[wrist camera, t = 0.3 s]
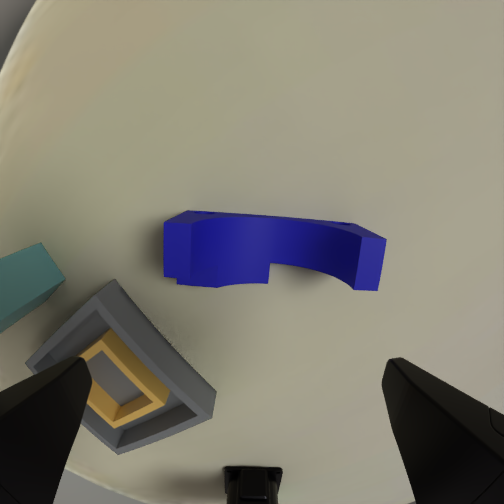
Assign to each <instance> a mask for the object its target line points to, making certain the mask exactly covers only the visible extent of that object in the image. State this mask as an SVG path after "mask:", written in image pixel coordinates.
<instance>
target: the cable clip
mask: <svg viewBox="0 0 504 504" xmlns="http://www.w3.org/2000/svg"><path fill="white" fill-rule="evenodd" d="M386 240H387V239H385V238H383V237H381V236H379V235H377V234H375V233H373V232H371V231H369V230H367V229H365V228H363V227H361V226H359V225H357V224H354V223H345V222H335V221H325V220H314V219H302V218H291V217H279V216H266V215H252V214H238V213H223V212H207V211H189V210H187V211H185V212H183V213H181V214H179V215H177V216H175V217H173V218H171V219H169V220H167V221H165V222H164V277H171V278H177V284H179V285H190V286H202V287H214V288H218V287H222V286H227V285H234V284H246V283H264V284H268V279H269V268H270V263H278V264H287V265H293V266H299V267H304V268H308V269H312V270H316V271H319V272H323V273H326V274H328V275H331V276H333V277H336V278H338V279H340V280H342V281H343V282H345V283H346V284H348V285H349V286H350V287H351V288H352V289H353V290H368V291H378V286H379V281H380V276H381V270H382V265H383V259H384V253H385V246H386Z"/></svg>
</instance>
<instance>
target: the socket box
mask: <svg viewBox="0 0 504 504" xmlns="http://www.w3.org/2000/svg"><path fill="white" fill-rule="evenodd" d="M71 356H78V357H82V358H84V359H85V361H86V363H87V366H88V369H89V371H90V374H91V377H92V387H91V390H90V393H89V397H88V400H87V404H86V407H85V411H84V414H83V418H82V421H81V424H82V425H83V426H84V427H85V428H87V429H88V430H89V431H90V432H91V433H92V434H93V435H94V436H96V437H97V438H98V439H99V440H100V441H101V442H103V443H104V444H105V445H106V446H108V447H109V448H110V449H111V450H112V451H114V452H115V453H116V454H117V455H119V454H122V453H125V452H128V451H131V450H134V449H137V448H140V447H143V446H145V445H148V444H151V443H153V442H156V441H159V440H161V439H164V438H166V437H169V436H171V435H174V434H176V433H179V432H181V431H183V430H186V429H188V428H191V427H193V426H195V425H197V424H200V423H202V422H204V421H206V420H209V419H211V418H212V415H213V410H214V404H215V398H216V392H217V391H216V390H215V389H213V388H212V387H211V386H210V385H209V384H208V383H207V382H206V381H205V380H204V379H203V378H202V377H201V376H200V375H199V374H198V373H197V372H196V371H195V370H194V369H193V368H192V367H191V366H190V365H189V364H188V363H187V361H186V360H185V359H184V358H183V357H182V356H181V355H180V354H179V353H178V352H177V351H176V350H175V349H174V348H173V347H172V346H171V344H170V343H169V342H168V341H167V340H166V339H165V338H164V337H163V336H162V335H161V333H160V332H159V331H158V330H157V329H156V328H155V327H154V326H153V324H152V323H151V322H150V321H149V320H148V319H147V318H146V316H145V315H144V314H143V313H142V312H141V310H140V309H139V308H138V307H137V306H136V304H135V303H134V302H133V301H132V300H131V298H130V297H129V296H128V295H127V294H126V292H125V291H124V290H123V289H122V287H121V286H120V285H119V283H118V282H117V281H116V280H115V279H114V280H113V281H111V282H110V283H109V284H108V285H106V286H105V287H104V288H103V289H101V290H100V291H99V292H98V293H96V294H95V295H94V296H93V297H92V298H91V299H90V300H89V301H87V302H86V303H85V304H84V305H83V306H82V307H81V308H80V309H79V310H78V311H77V312H76V313H75V314H74V315H73V316H71V317H70V318H69V319H68V320H67V321H66V322H65V323H64V324H63V325H62V326H61V327H60V328H59V329H58V330H57V331H56V332H55V333H54V334H53V335H52V336H51V337H50V338H49V339H48V340H47V341H46V342H45V343H44V344H43V345H42V346H41V347H40V348H39V349H38V350H37V351H36V352H35V353H34V354H33V355H32V356H31V357H30V358H29V359H28V360H27V361H26V362H25V364H26V365H27V367H28V368H29V369H30V370H31V371H32V373H33V374H34V375H35V374H37V373H39V372H41V371H43V370H45V369H47V368H49V367H51V366H53V365H55V364H57V363H59V362H61V361H63V360H65V359H67V358H69V357H71Z"/></svg>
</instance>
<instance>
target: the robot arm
mask: <svg viewBox="0 0 504 504" xmlns="http://www.w3.org/2000/svg"><path fill="white" fill-rule="evenodd" d="M91 387H92V377H91V374H90V371H89V369H88V366H87V363H86V361H85V359H84V358H82V357H78V356H71V357H69V358H67V359H65V360H63V361H61V362H59V363H57V364H55V365H53V366H51V367H49V368H47V369H45V370H43V371H41V372H39V373H37V374H35V375H33V376H31V377H29V378H27V379H25V380H23V381H21V382H19V383H17V384H15V385H13V386H11V387H9V388H7V389H5V390H3V391H1V392H0V504H53V501H54V498H55V495H56V492H57V489H58V486H59V482H60V479H61V476H62V473H63V471H64V468H65V465H66V462H67V459H68V456H69V454H70V451H71V448H72V445H73V443H74V440H75V437H76V435H77V432H78V430H79V427H80V424H81V421H82V418H83V414H84V411H85V407H86V404H87V400H88V397H89V393H90V390H91ZM382 390H383V394H384V398H385V402H386V406H387V410H388V414H389V419H390V423H391V427H392V430H393V434H394V436H395V439H396V442H397V445H398V448H399V451H400V454H401V457H402V460H403V463H404V466H405V469H406V472H407V475H408V478H409V481H410V484H411V487H412V491H413V494H414V497H415V501H416V504H504V415H503V414H501V413H499V412H498V411H496V410H494V409H492V408H489V407H488V406H487V405H485V404H483V403H481V402H479V401H478V400H476V399H474V398H472V397H471V396H469V395H467V394H465V393H463V392H462V391H460V390H458V389H456V388H455V387H453V386H451V385H449V384H447V383H446V382H444V381H442V380H440V379H439V378H437V377H435V376H433V375H432V374H430V373H428V372H426V371H425V370H423V369H421V368H419V367H418V366H416V365H414V364H412V363H411V362H409V361H407V360H405V359H404V358H401V357H399V358H392V359H389V360H388V362H387V364H386V368H385V371H384V375H383V378H382ZM224 472H225V493H226V494H227V504H278V491H279V487H280V482H281V478H282V474H283V471H282V469H281V468H243V467H226V468H225V471H224Z"/></svg>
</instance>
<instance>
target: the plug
mask: <svg viewBox="0 0 504 504" xmlns="http://www.w3.org/2000/svg"><path fill="white" fill-rule="evenodd" d="M64 280H65V277H64V276H63V275H62V273H61V272H60V270H59V269H58V268H57V266H56V265H55V263H54V262H53V260H52V259H51V257H50V256H49V254H48V253H47V251H46V250H45V248H44V247H43V245H42V244H41V243H39V244H36V245H33V246H31V247H28V248H26V249H23V250H21V251H18V252H16V253H13V254H11V255H8V256H6V257H3V258H1V259H0V333H2V332H3V331H4V330H6V329H7V328H8V327H10V326H11V325H13V324H14V323H15V322H17V321H18V320H19V319H21V318H22V317H24V316H25V315H27V314H28V313H29V312H31V311H32V310H34V309H35V308H37V307H38V306H39V305H41V304H42V303H44V302H45V301H46V300H47V299H48V298H49V297H50V295H51V294H52V293H53V292H54V291H55V290H56V289H57V288H58V287H59V285H60V284H61V283H62V282H63V281H64Z"/></svg>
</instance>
